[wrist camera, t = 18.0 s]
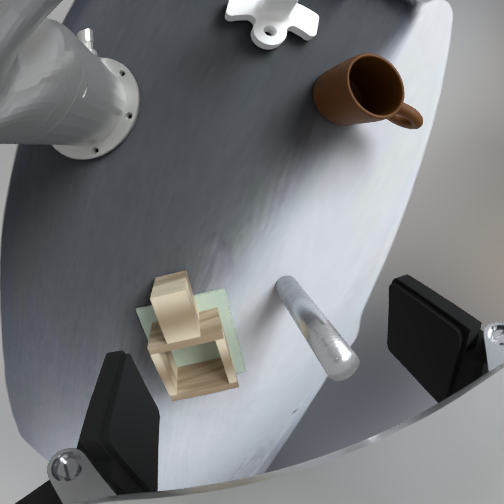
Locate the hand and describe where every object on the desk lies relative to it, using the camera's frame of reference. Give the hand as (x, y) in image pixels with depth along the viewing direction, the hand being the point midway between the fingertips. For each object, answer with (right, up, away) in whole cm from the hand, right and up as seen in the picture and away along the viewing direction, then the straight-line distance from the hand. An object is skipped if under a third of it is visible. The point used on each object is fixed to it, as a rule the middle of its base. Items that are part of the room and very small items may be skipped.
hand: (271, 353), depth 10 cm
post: (+4, -1, +31) cm, 32 cm away
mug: (+12, +22, +26) cm, 36 cm away
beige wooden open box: (-9, -6, +30) cm, 32 cm away
